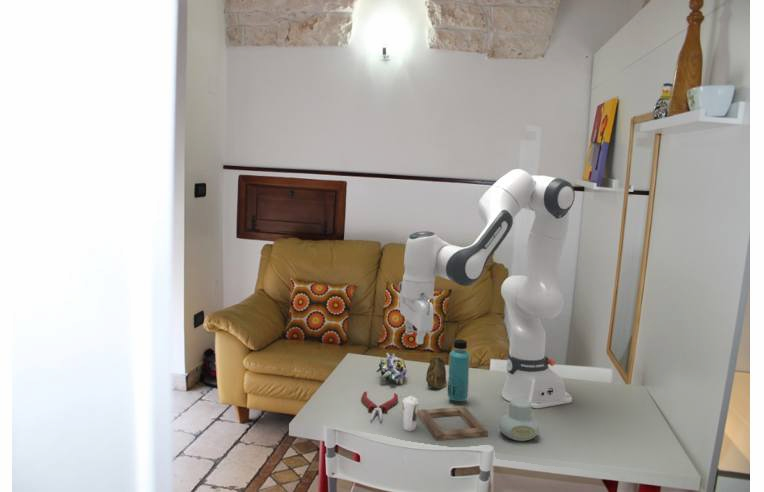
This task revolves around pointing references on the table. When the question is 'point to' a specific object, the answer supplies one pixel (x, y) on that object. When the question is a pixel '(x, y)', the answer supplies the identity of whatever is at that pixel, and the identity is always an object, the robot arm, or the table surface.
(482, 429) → the wooden frame
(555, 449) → the table surface
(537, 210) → the robot arm
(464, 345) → the beverage bottle
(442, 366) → the decorative stone
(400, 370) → the passion flower
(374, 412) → the pliers
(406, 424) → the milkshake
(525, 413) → the air freshener
